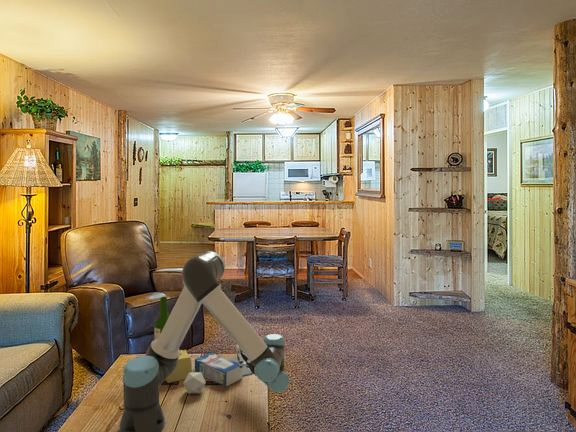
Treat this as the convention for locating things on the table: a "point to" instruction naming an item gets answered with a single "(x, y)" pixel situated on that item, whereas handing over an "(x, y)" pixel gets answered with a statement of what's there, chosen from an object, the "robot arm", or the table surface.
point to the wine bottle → (161, 318)
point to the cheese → (181, 368)
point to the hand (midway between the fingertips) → (238, 348)
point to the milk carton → (218, 369)
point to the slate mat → (244, 369)
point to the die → (194, 383)
